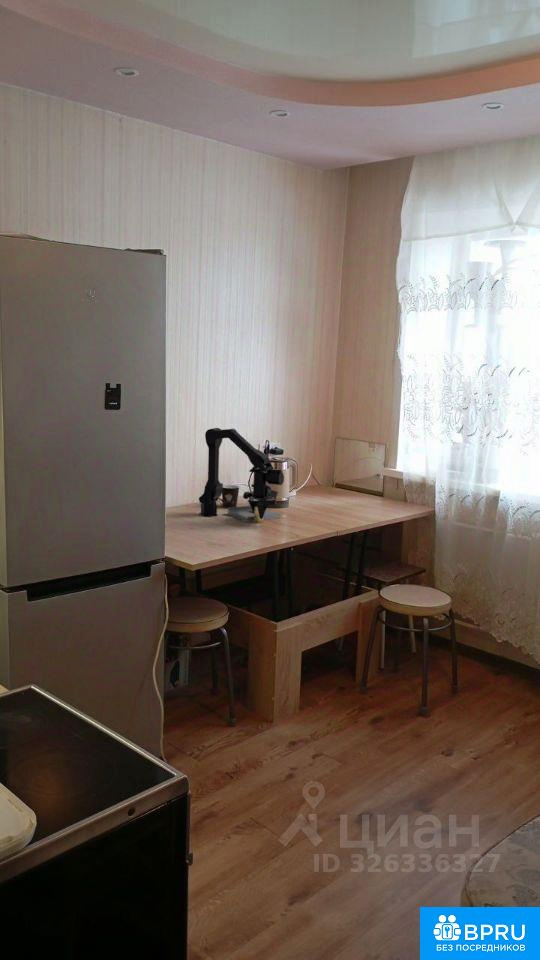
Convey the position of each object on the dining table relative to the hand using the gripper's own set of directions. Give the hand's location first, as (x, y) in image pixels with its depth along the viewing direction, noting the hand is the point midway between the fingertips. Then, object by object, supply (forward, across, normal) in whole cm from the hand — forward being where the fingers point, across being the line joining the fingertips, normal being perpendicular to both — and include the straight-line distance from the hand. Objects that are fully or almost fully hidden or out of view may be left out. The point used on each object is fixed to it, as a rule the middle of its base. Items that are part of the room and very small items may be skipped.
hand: (258, 517), depth 345 cm
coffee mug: (+2, +34, -3) cm, 34 cm away
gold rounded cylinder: (+2, 0, 0) cm, 2 cm away
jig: (+2, +11, -4) cm, 12 cm away
